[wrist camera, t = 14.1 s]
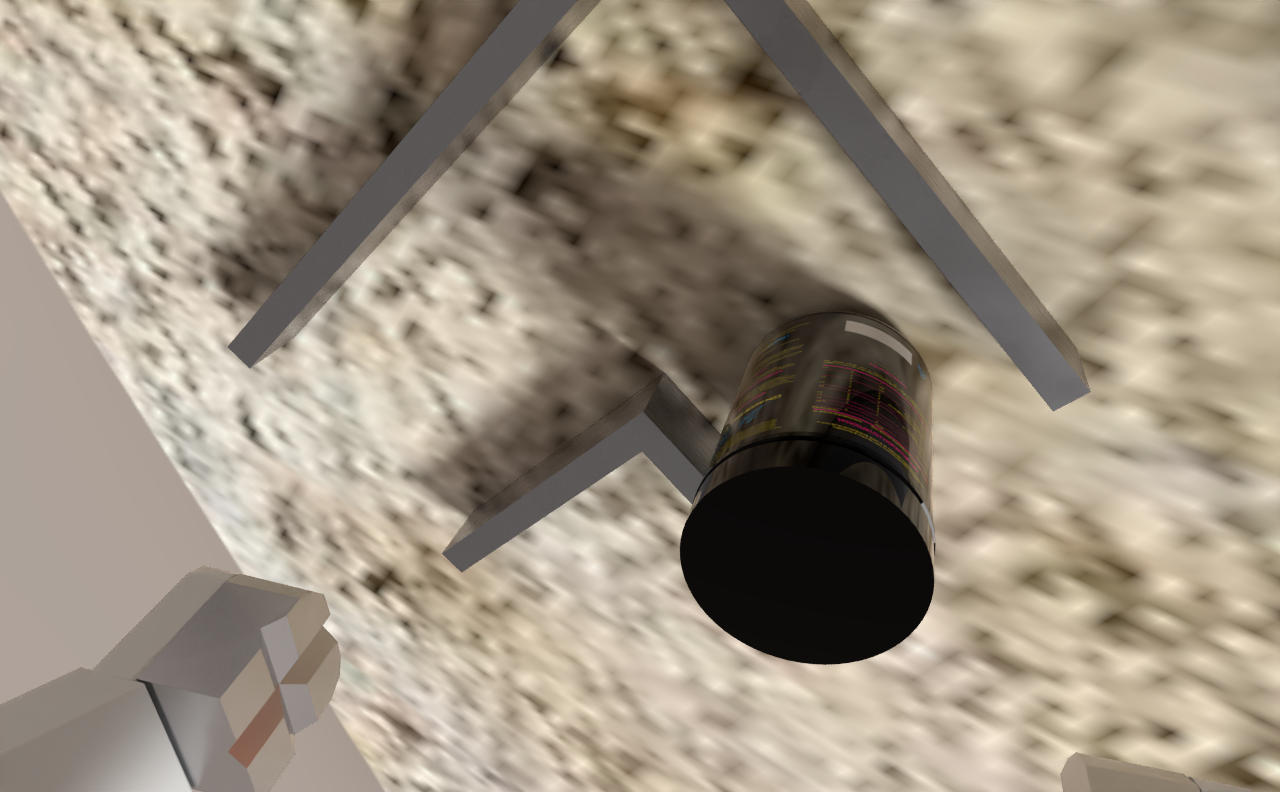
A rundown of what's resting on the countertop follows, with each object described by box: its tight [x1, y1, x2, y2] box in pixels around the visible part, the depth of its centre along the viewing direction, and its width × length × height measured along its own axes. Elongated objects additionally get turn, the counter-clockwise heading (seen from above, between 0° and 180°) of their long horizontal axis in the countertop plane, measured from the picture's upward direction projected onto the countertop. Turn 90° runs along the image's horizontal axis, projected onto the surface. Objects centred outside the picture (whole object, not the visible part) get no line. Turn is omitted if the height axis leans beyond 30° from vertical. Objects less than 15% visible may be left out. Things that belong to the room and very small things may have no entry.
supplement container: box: [680, 310, 935, 665], centre depth 28 cm, size 7×7×10 cm
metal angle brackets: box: [228, 0, 1090, 572], centre depth 32 cm, size 20×25×3 cm
